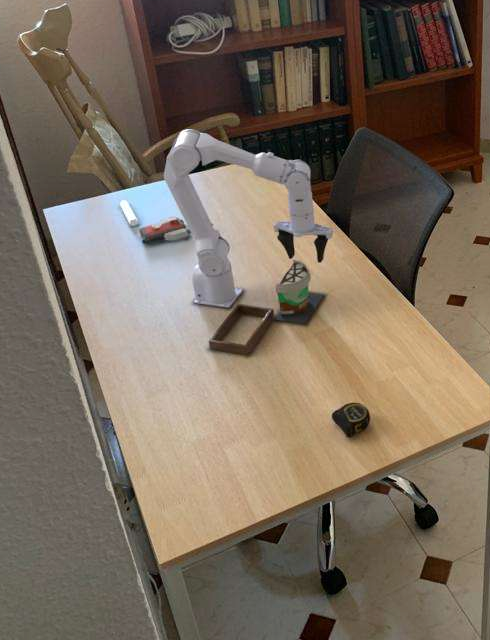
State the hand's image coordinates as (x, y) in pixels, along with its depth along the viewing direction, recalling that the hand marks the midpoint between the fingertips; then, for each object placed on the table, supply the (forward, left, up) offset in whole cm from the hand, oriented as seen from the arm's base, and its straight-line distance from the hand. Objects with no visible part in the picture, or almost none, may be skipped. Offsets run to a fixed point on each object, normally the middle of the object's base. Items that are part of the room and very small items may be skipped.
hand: (306, 258), depth 198 cm
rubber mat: (0, -7, -10) cm, 12 cm away
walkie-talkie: (-48, +19, -8) cm, 53 cm away
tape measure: (+26, -44, -11) cm, 52 cm away
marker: (-68, +27, -11) cm, 74 cm away
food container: (0, -7, -10) cm, 12 cm away
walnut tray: (-9, -19, -10) cm, 24 cm away
